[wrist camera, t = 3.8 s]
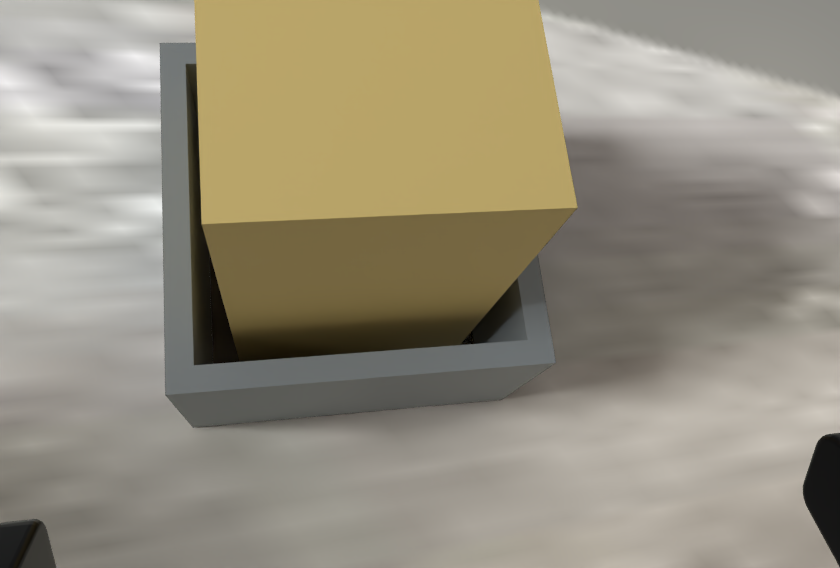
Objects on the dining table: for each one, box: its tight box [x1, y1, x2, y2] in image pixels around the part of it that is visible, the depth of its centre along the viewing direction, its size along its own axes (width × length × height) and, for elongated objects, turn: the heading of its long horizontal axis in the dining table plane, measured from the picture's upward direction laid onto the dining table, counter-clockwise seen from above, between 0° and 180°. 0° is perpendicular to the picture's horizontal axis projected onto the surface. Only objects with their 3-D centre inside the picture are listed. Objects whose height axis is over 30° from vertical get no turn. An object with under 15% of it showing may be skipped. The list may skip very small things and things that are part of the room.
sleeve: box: [160, 43, 556, 428], centre depth 21 cm, size 9×9×5 cm
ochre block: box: [194, 0, 578, 362], centre depth 18 cm, size 6×6×11 cm
